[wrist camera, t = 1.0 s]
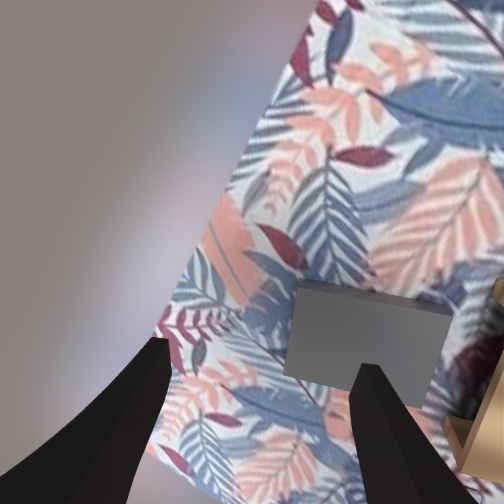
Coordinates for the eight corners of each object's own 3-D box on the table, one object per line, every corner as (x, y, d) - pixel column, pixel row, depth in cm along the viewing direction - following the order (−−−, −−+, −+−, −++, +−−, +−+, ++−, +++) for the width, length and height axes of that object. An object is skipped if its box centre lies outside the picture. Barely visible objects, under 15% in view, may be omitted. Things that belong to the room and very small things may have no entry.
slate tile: (414, 388, 29) (421, 408, 27) (286, 358, 32) (283, 375, 29) (442, 302, 26) (453, 316, 24) (299, 276, 29) (297, 287, 26)
